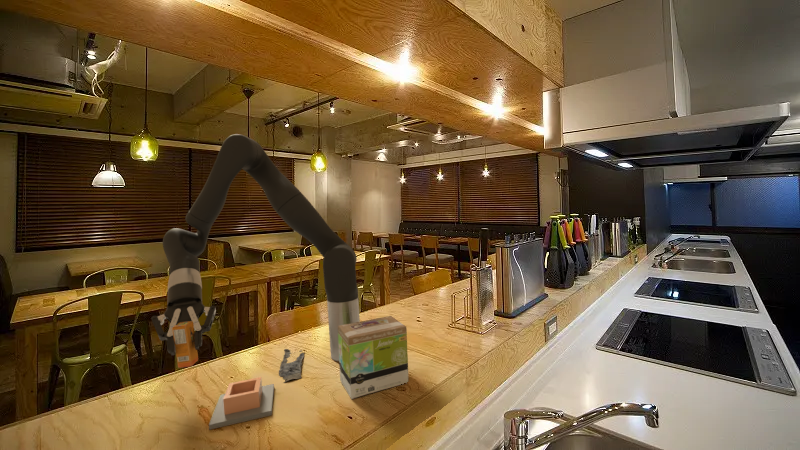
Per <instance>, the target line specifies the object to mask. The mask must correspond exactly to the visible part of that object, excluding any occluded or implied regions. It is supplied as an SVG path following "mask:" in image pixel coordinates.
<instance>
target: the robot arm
mask: <svg viewBox="0 0 800 450" xmlns="http://www.w3.org/2000/svg"><path fill="white" fill-rule="evenodd" d="M242 170H243V171H244V172H246V173H247V174H248V175H249V176H250V177H252V179H253V180H254V181H255V182H256V183H257V184H258V185H259V187H261V189H262V191H263V192H264V194H265V196H266V199H267V200H268V203H269V204H270V205H271V207H272V208H273V210H274V211H275V213H276V214H277V215H278V216H279V217H280V218H281V219H282V220H283V221H284V222H285V224H286V225H288V227H289V228H291V229H292V230H293V231H295V232H296V233H298V234H299V235H300V236H301V237H303V238H305V239H306V240H307V241H309V243H311V244H312V245H313V246H314V247H315V248H316V249H317V252H319V253H320V255H321V256H322V257H323V260H322V271H323V281H324V291H325V294H326V303H327V316H328V317H327V319H328V331H329V332H328V334H329V347H330V349H329V352H330V358H331V359H332V360H333V361H336V362H339V343H338V326H340V325H345V324H350V323H356V322H361V321H360V306H359V289H358V282H357V273H356V271H357V269H356V265H357V254H356V252H355V250H354V248H352V247H351V246H350V245H349V244H348V243H347V242H345V241H344V239H342V238H341V237H340V236H339V235H338V234H337V233H336V232H335V231H334V230H333V229H332V228H331V227H330V226H329V225H328V223H327V222H326V221H325V219H324V217H322V215H321V214H320V213H319V212H318V211H317V209H316V207H315V206H314V205H313V204H312V203H311V202H310V200H308V198H307V197H306V196H305V195H304V194H303V193H302V191H300V190H299V189H298V188H297V187H296V186H295V184H293V183H292V181H290V179H288V177H286V176H285V175H284V174H283V173H282V172H281V171H280V170H279V169H278V167H277V166H276V165H275V164H274V162H273V161H272V159H271V158H270V157H269V156H268V154H267V152H266V151H265V150H264V147H262V146H261V144H260V143H259V142H258V141H256V140H255V139H252V138H250V137H248V136H246V135H243V134H240V133H239V134H238V133H235V134H231V135H229V136H228V137H226V138H225V140H224V141H223V143H222V145H221V146H220V149H219V151H218V154H217V156H216V158H215V162H214V164H213V166H212V167H211V170H210V173H209V175H208V177H207V180H206V182H205V184H204V186H203V188H202V189H201V191H200V192H199V195H198V196H197V198H196V199H195V201H194V202H193V204H192V206H191V208H190V209H189V210H188V212H187V213H186V215H185V222H186V224H188V225H189V226H191V227H192V228H193V229H196V232H192V231H188V230H185V229H182V228H179V227H178V228H177V227H176V228H175V227H173V228H171V229H169V230H168V231H167V232H166V233H165V234H164V236H163V238H162V248H163V251H164V254H165V257H166V259H167V263H168V264H169V271H168V272H169V275H168V276H169V277H168V282H167V298H166V299H167V301H166V302H167V304H166V310H165V311H164V312H163V314H161V315H152V316H151V318H150V320H151V322H152V324H153V327H154V329H155V331H156V334H157V337H158V338H159V340H160V341H166V342H167V343H166V350H167V353H168V354H170V355H171V356H176V350H175V344H174V337H173V331H172V327H174V326H175V325H177V324H179V323H181V322H188V321H193V325H194V338H195V350H197V351H198V350H200V347H202V346H203V334H204V333H205V332H209V331H211V329H212V325H213V323H214V319H215V316H216V314H217V310H216V306H215V305H210V306H205V304H203V283H202V277H201V262H200V259H199V256H201V255H203V254H202V253H203V252H204V251H205V250H206V246H207V242H208V238H209V235H210V232H211V229H212V226H213V225H214V223H215V222H216V220H217V218H218V217H219V215H220V213H221V212H222V210H223V208H224V206H225V203H226V202H227V201H226V200H227V196H228V193H229V189H230V186H231V184H232V182H233V180H234V179H235V178H236V176H237V175H238V174H239V172H240V171H242ZM204 313H205V316H206V317H205V321H204V323H203V325H201V324H200V321H199V319H200V318H201V317H202V315H203V314H204ZM165 320H167V321H168V322H169V328H168V331H167V332H166V331H164V329H163V327H162V325H163V324H164V323H165Z"/></svg>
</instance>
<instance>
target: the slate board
mask: <svg viewBox="0 0 800 450" xmlns="http://www.w3.org/2000/svg"><path fill="white" fill-rule="evenodd" d="M274 392H275V384H274V383H271V384H266V385H262V396H261V403H260V407H258V408H253V409H249V410H244V411H240V412H235V413H231V414H227V415H225V413H224V402H223V399H224V396H225V393H222V394H220V396H219V398H218V400H217V403H216V405H215V408H214V411H213V413H212V416H211V418H210V421H209V423H208V430H213V429H217V428H221V427H222V428H223V427H226V426H230V425H236V424H239V423H244V422H248V421H252V420H257V419H261V418H264V417H266V418H267V417H269V416H272V414H273V403H274V396H275V395H274V394H275V393H274Z"/></svg>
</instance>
